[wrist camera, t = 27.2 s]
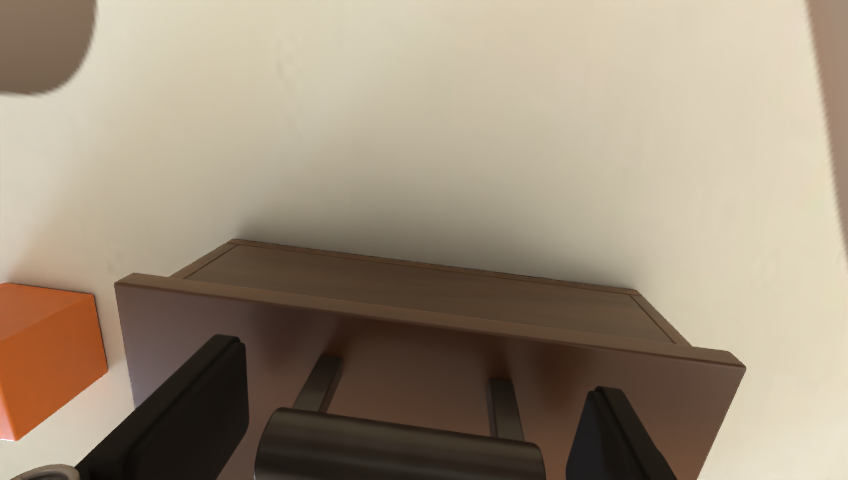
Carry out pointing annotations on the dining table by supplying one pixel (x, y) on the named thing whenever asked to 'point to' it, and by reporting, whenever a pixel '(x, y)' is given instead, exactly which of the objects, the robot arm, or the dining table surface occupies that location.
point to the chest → (434, 289)
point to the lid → (417, 384)
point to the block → (44, 353)
